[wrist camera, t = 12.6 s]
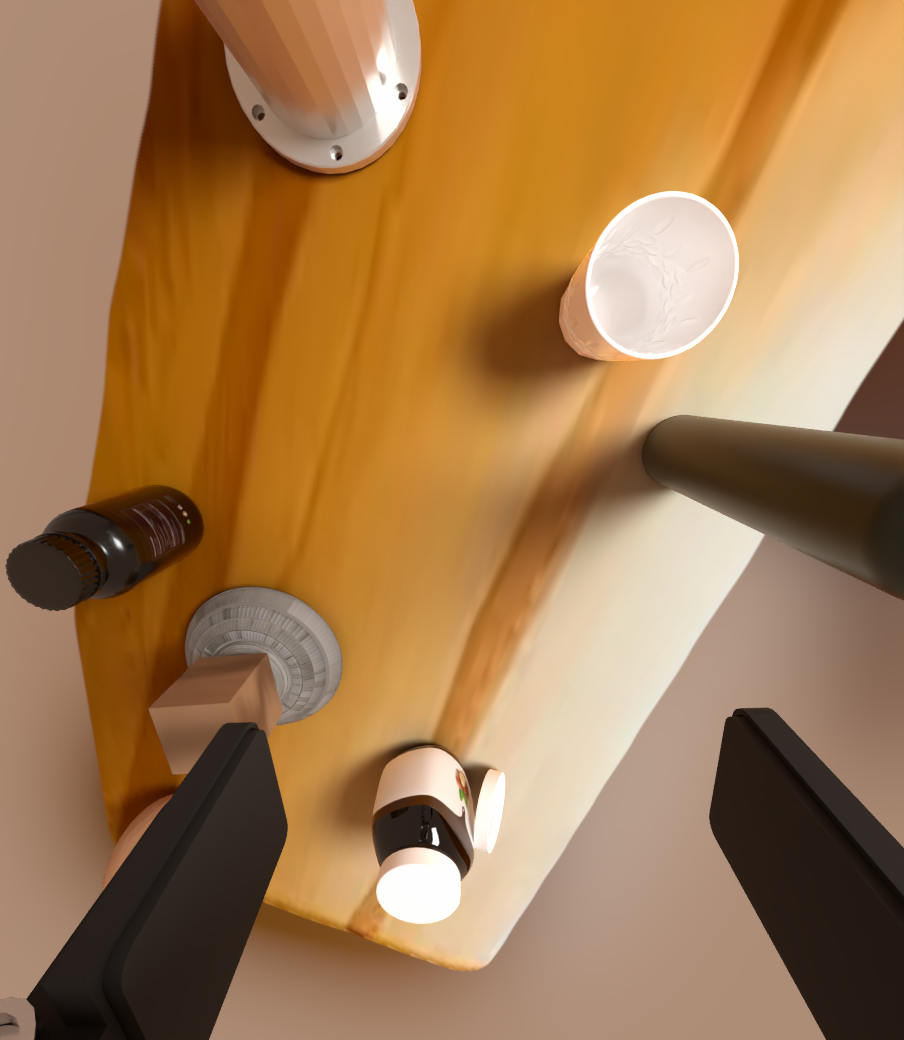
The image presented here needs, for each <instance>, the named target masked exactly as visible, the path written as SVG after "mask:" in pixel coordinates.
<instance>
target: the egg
mask: <svg viewBox="0 0 904 1040" xmlns="http://www.w3.org/2000/svg"><path fill="white" fill-rule="evenodd" d="M172 796H173V794H171V795H168V796H166V797H163V798H161V799H159V800H157V801H155V802H154V803H152V804H151V805H149V806H148V807H147V808H145V809H144V810H143V811H142V812H141V813H140V814H139V815H138V816H137V817H136V818H135V819H134V820H133V821H132V822H131V823H130V825H129V826H128V827H127V829H126V830H125V832H124V833H123V834H122V836H121V837H120V839H119V841H118V843H117V844H116V846H115V848H114V850H113V852H112V854H111V856H110V860H109V863H108V865H107V869H106V872H105V874H104V879H103V885H102V892H103V890H104V889H105V887H106V886H107V885H108V883H109V882H110V880H111V879H112V878H113V876H114V875H115V873H116V872H117V870H118V869H119V868H120V866H121V865H122V863H123V862H124V861H125V859H126V858H127V856H128V855H129V854H130V852H131V851H132V849H133V848H134V846H135V845H136V844H137V842H138V841H139V839H140V838H141V837H142V835H143V834H144V832H145V831H146V829H147V828H148V827H149V825H150V824H151V822H152V821H153V820H154V818H155V817H156V815H157V814H158V813H159V811H160V810H161V809H162V808H163V806H164V805H165V804H166V803H167V802H168V801H169V800H170V799H171V797H172Z"/></svg>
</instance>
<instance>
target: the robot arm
mask: <svg viewBox="0 0 904 1040" xmlns="http://www.w3.org/2000/svg"><path fill="white" fill-rule="evenodd" d="M194 1H195V2H196V4H197V5H198V7H199V8H200V9H201V11H202V12H203V14H204V15H205V17H206V18H207V19H208V21H209V22H210V24H211V25H212V27H213V28H214V29H215V31H216V32H217V34H218V35H219V36H220V38H221V39H222V41H223V43H224V51H225V59H226V66H227V69H228V73H229V76H230V80H231V84H232V87H233V90H234V92H235V94H236V96H237V99H238V101H239V103H240V106H241V108H242V110H243V111H244V113H245V114H246V116H247V117H248V119H249V120H250V122H251V124H252V125H253V127H254V128H255V129H256V130H257V132H258V133H259V134H260V135H261V137H262V138H263V139H264V140H265V141H266V142H267V143H268V144H269V145H270V146H271V147H272V148H273V149H274V150H275V151H276V152H277V153H278V154H279V155H281V156H282V157H284V158H285V159H287V160H289V161H290V162H292V163H293V164H295V165H297V166H299V167H302V168H305V169H307V170H310V171H312V172H319V173H326V174H337V173H347V172H350V171H354V170H357V169H360V168H363V167H365V166H366V165H368V164H370V163H371V162H373V161H375V160H376V159H378V158H379V157H380V156H381V155H382V154H384V153H385V152H386V151H387V150H388V149H389V148H390V147H391V146H392V145H393V144H394V142H395V141H396V139H397V138H398V137H399V135H400V134H401V133H402V131H403V130H404V128H405V126H406V124H407V121H408V119H409V117H410V115H411V113H412V111H413V108H414V104H415V101H416V97H417V94H418V91H419V83H420V76H421V68H422V67H421V41H420V34H419V25H418V20H417V16H416V12H415V8H414V4H413V0H194ZM401 97H406V98H405V99H403V100H400V98H401ZM263 117H264V119H263V120H262V118H263ZM338 156H342V158H341V159H340V160H338V161H337V158H338ZM709 819H710V825H711V829H712V831H713V834H714V836H715V838H716V840H717V842H718V844H719V846H720V848H721V849H722V851H723V853H724V855H725V857H726V859H727V860H728V862H729V864H730V866H731V868H732V869H733V871H734V873H735V875H736V877H737V879H738V880H739V882H740V884H741V886H742V888H743V889H744V891H745V893H746V895H747V897H748V899H749V900H750V902H751V904H752V906H753V907H754V909H755V911H756V913H757V915H758V917H759V918H760V920H761V922H762V924H763V926H764V928H765V929H766V931H767V933H768V934H769V937H770V938H771V940H772V942H773V944H774V946H775V948H776V949H777V951H778V953H779V955H780V957H781V958H782V960H783V962H784V964H785V966H786V968H787V969H788V971H789V973H790V975H791V977H792V978H793V980H794V982H795V984H796V986H797V988H798V989H799V991H800V993H801V995H802V997H803V998H804V1000H805V1002H806V1004H807V1006H808V1008H809V1009H810V1011H811V1013H812V1015H813V1017H814V1018H815V1020H816V1022H817V1024H818V1026H819V1028H820V1029H821V1031H822V1033H823V1035H824V1037H825V1038H826V1040H904V848H903V847H902V846H901V845H900V844H899V842H898V841H897V840H896V839H895V838H894V837H893V836H892V835H891V834H890V833H889V832H888V831H887V830H886V829H885V828H884V826H883V825H881V823H880V822H879V821H878V820H877V819H876V818H875V817H874V816H873V815H872V814H871V813H870V812H869V811H868V809H866V807H865V806H864V805H863V804H862V803H861V802H860V801H859V800H858V799H857V798H856V797H855V796H854V795H853V794H852V793H851V791H850V790H849V789H848V788H847V787H846V786H845V785H844V784H843V783H842V782H841V781H840V780H839V779H838V778H837V777H836V776H835V775H834V774H833V773H832V771H831V770H830V769H829V768H828V767H827V766H826V765H825V764H824V763H823V762H822V761H821V760H820V759H819V758H818V757H817V755H816V754H815V753H814V752H813V751H812V750H811V749H810V748H809V747H808V746H807V745H806V744H805V743H804V742H803V741H802V740H801V738H800V737H799V736H798V735H797V734H796V733H795V732H794V731H793V730H792V729H791V728H790V727H789V726H788V725H787V724H786V722H785V721H784V720H783V719H782V718H781V717H780V716H779V715H778V714H777V713H776V712H775V711H773V710H772V709H770V708H741V709H736V710H735V711H734V712H733V715H732V717H728V718H727V719H726V721H725V726H724V732H723V738H722V744H721V749H720V755H719V762H718V767H717V773H716V778H715V784H714V790H713V796H712V802H711V808H710V815H709ZM287 830H288V824H287V819H286V814H285V810H284V806H283V802H282V798H281V794H280V790H279V786H278V781H277V777H276V773H275V769H274V765H273V761H272V757H271V753H270V749H269V744H268V740H267V736H266V733H265V731H264V730H259V728H258V725H257V724H256V723H255V722H240V723H226V724H224V725H223V726H222V727H221V728H220V729H219V730H218V732H217V733H216V735H215V736H214V737H213V739H212V740H211V742H210V743H209V745H208V746H207V747H206V749H205V750H204V752H203V753H202V754H201V756H200V757H199V759H198V760H197V762H196V763H195V764H194V766H193V767H192V769H191V770H190V772H189V773H188V774H187V776H186V777H185V779H184V780H183V782H182V783H181V784H180V786H179V787H178V789H177V790H176V791H175V793H174V794H173V796H172V797H171V799H170V800H169V801H168V802H167V803H166V804H165V805H164V806H163V808H162V809H161V810H160V811H159V813H158V814H157V815H156V817H155V818H154V820H153V821H152V822H151V824H150V825H149V827H148V828H147V829H146V831H145V832H144V834H143V835H142V837H141V838H140V839H139V841H138V842H137V844H136V845H135V846H134V848H133V849H132V851H131V852H130V854H129V855H128V856H127V858H126V859H125V861H124V862H123V863H122V865H121V866H120V868H119V869H118V870H117V872H116V873H115V875H114V876H113V878H112V879H111V880H110V882H109V883H108V885H107V886H106V887H105V889H104V890H103V892H102V893H101V894H100V896H99V898H98V899H97V900H96V902H95V903H94V904H93V906H92V907H91V909H90V910H89V911H88V913H87V914H86V916H85V917H84V919H83V920H82V921H81V923H80V924H79V926H78V927H77V928H76V930H75V931H74V933H73V934H72V935H71V937H70V938H69V940H68V941H67V943H66V944H65V945H64V947H63V948H62V950H61V951H60V952H59V954H58V955H57V957H56V958H55V959H54V961H53V962H52V964H51V965H50V967H49V968H48V969H47V971H46V972H45V974H44V975H43V976H42V978H41V979H40V981H39V982H38V984H37V985H36V987H35V988H34V990H33V991H32V992H31V993H30V995H29V996H28V998H27V999H22V998H15V997H9V998H5V999H1V1000H0V1040H209V1038H210V1035H211V1033H212V1030H213V1027H214V1025H215V1023H216V1020H217V1017H218V1015H219V1012H220V1010H221V1007H222V1004H223V1002H224V999H225V997H226V994H227V992H228V989H229V986H230V984H231V981H232V979H233V976H234V973H235V970H236V968H237V966H238V963H239V961H240V958H241V955H242V953H243V950H244V948H245V945H246V942H247V939H248V937H249V935H250V932H251V930H252V927H253V924H254V922H255V919H256V916H257V914H258V911H259V909H260V906H261V904H262V901H263V899H264V896H265V893H266V891H267V888H268V886H269V883H270V880H271V878H272V875H273V873H274V870H275V868H276V865H277V862H278V860H279V857H280V855H281V852H282V849H283V847H284V844H285V841H286V837H287Z"/></svg>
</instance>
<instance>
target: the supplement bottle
mask: <svg viewBox="0 0 904 1040" xmlns="http://www.w3.org/2000/svg"><path fill="white" fill-rule="evenodd" d="M203 531H204V525H203V519H202V516H201V513H200V511H199V509H198V508H197V506H196V505H195V504H194V502H193V501H192V500H191V499H190V498H189V497H188V496H186V495H185V494H184V493H182V492H180V491H178V490H176V489H174V488H171V487H168V486H161V485H153V486H147V487H143V488H140V489H136V490H133V491H130V492H126V493H123V494H120V495H117V496H114V497H110V498H107V499H104V500H101V501H98V502H94V503H91V504H88V505H85V506H81V507H78V508H75V509H72V510H69V511H67V512H64V513H62V514H60V515H58V516H57V517H55V518H54V519H53V520H52V521H51V522H50V523H49V524H48V525H47V527H46V528H45V530H44V531H43V534H41V535H39V536H37V537H35V538H34V539H32V540H29V541H26V542H24V543H22V544H19V545H18V546H17V547H16V548H14V549H13V550H12V552H11V553H10V554H9V558H8V559H7V564H6V569H7V571H6V573H7V575H8V580H9V581H10V582H11V586H12V587H13V588H14V589H15V591H16V592H17V593H18V594H19V595H20V596H21V597H22V598H23V599H25V600H26V601H27V602H28V603H31V604H33V605H34V606H36V607H40V608H42V609H48V610H50V611H51V610H55V611H59V610H66V609H68V608H70V607H73V606H75V605H77V604H79V603H80V602H82V601H85V600H87V599H89V598H90V599H109V598H114V597H118V596H120V595H123V594H125V593H126V592H128V591H130V590H132V589H134V588H135V587H137V586H138V585H140V584H142V583H143V582H145V581H147V580H148V579H150V578H151V577H153V576H155V575H156V574H158V573H160V572H161V571H163V570H165V569H166V568H168V567H169V566H171V565H173V564H174V563H176V562H178V561H179V560H181V559H183V558H184V557H186V556H187V555H189V554H190V553H191V552H193V551H194V550H195V549H196V548H197V547H198V545H199V544H200V542H201V540H202V537H203Z"/></svg>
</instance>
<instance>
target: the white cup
mask: <svg viewBox="0 0 904 1040" xmlns="http://www.w3.org/2000/svg"><path fill="white" fill-rule="evenodd" d="M738 268H739V258H738V249H737V244H736V240H735V237H734V234H733V231H732V229H731V227H730V225H729V223H728V222H727V220H726V219H725V217H724V216H723V215H722V213H721V212H720V211H719V210H718V209H717V208H716V207H715V206H714V205H712V204H711V203H710V202H708V201H706V200H705V199H703V198H701V197H699V196H696V195H693V194H690V193H686V192H678V191H668V192H660V193H656V194H652V195H649V196H646V197H644V198H642V199H639V200H637V201H636V202H634V203H632V204H631V205H629V206H628V207H626V208H625V209H624V210H622V211H621V212H620V213H619V214H618V215H617V216H616V217H615V218H614V219H613V220H612V221H611V222H610V223H609V224H608V225H607V227H606V228H605V229H604V231H603V232H602V234H601V235H600V236H599V238H598V239H597V241H596V242H595V244H594V245H593V246H592V248H591V249H590V251H589V252H588V253H587V255H586V256H585V258H584V259H583V260H582V262H581V263H580V265H579V267H578V268H577V270H576V271H575V273H574V275H573V276H572V278H571V280H570V283H569V285H568V287H567V289H566V291H565V292H564V294H563V296H562V298H561V303H560V312H559V324H560V327H561V330H562V333H563V336H564V339H565V341H566V342H567V343H568V344H569V345H570V346H571V347H572V348H573V349H574V350H575V351H576V352H577V353H578V354H579V355H581V356H585V357H588V358H591V359H595V360H607V361H633V360H649V359H661V358H666V357H670V356H674V355H677V354H679V353H681V352H684V351H686V350H687V349H689V348H691V347H693V346H694V345H696V344H697V343H698V342H700V341H701V340H702V339H703V338H704V337H706V336H707V335H708V334H709V333H710V332H711V331H712V330H713V328H714V327H715V326H716V325H717V324H718V322H719V321H720V319H721V318H722V316H723V315H724V313H725V311H726V310H727V308H728V306H729V304H730V301H731V299H732V296H733V294H734V290H735V287H736V283H737V277H738Z"/></svg>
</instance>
